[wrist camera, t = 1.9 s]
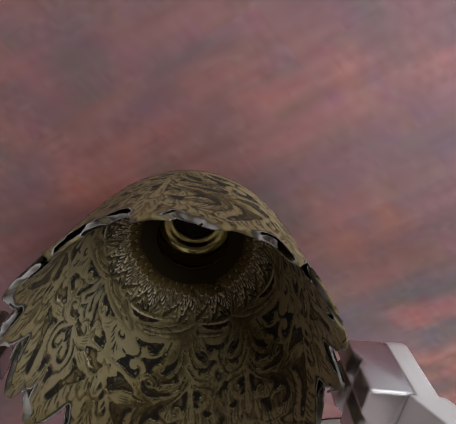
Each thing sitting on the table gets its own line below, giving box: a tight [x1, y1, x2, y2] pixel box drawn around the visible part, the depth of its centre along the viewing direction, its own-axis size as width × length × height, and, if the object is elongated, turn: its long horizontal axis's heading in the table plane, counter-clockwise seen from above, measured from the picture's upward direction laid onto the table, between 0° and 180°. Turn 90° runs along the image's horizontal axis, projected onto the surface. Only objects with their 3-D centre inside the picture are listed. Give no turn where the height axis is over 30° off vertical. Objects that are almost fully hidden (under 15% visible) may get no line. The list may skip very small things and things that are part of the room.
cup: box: [0, 170, 348, 424], centre depth 12 cm, size 7×7×8 cm
